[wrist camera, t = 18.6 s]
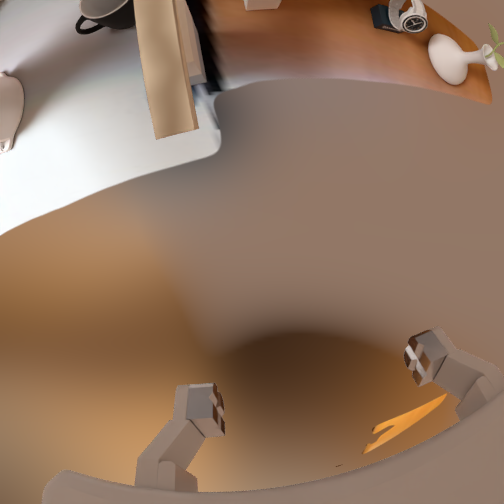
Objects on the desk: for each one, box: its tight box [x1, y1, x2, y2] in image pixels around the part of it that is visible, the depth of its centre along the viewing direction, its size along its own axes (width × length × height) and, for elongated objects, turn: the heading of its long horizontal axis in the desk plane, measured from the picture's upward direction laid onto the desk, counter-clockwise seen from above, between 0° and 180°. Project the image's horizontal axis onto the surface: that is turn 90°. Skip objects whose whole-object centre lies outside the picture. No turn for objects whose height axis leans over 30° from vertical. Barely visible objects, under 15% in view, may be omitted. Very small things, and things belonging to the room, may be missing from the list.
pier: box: [176, 0, 207, 86], centre depth 26 cm, size 5×9×16 cm, turn 9°
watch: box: [370, 0, 428, 33], centre depth 24 cm, size 6×8×11 cm
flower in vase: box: [428, 23, 504, 85], centre depth 21 cm, size 13×11×25 cm
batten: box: [134, 0, 199, 140], centre depth 17 cm, size 4×22×4 cm, turn 9°
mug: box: [76, 0, 136, 34], centre depth 22 cm, size 12×9×10 cm
